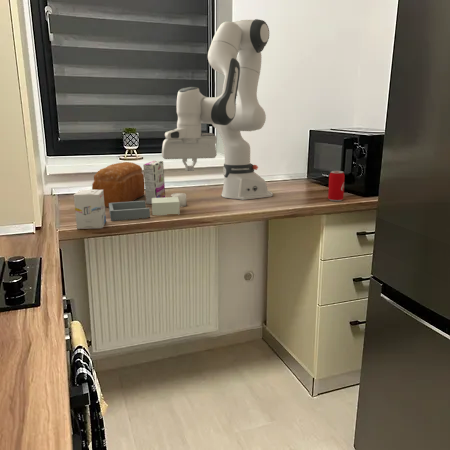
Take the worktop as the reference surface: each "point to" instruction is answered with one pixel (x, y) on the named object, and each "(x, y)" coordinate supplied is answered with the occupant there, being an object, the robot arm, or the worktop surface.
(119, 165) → the bread
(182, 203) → the white rounded block
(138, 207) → the grey rectangular tray
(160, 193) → the candy bar box
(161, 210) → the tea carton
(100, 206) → the ink box
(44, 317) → the worktop surface
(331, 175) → the beverage can
